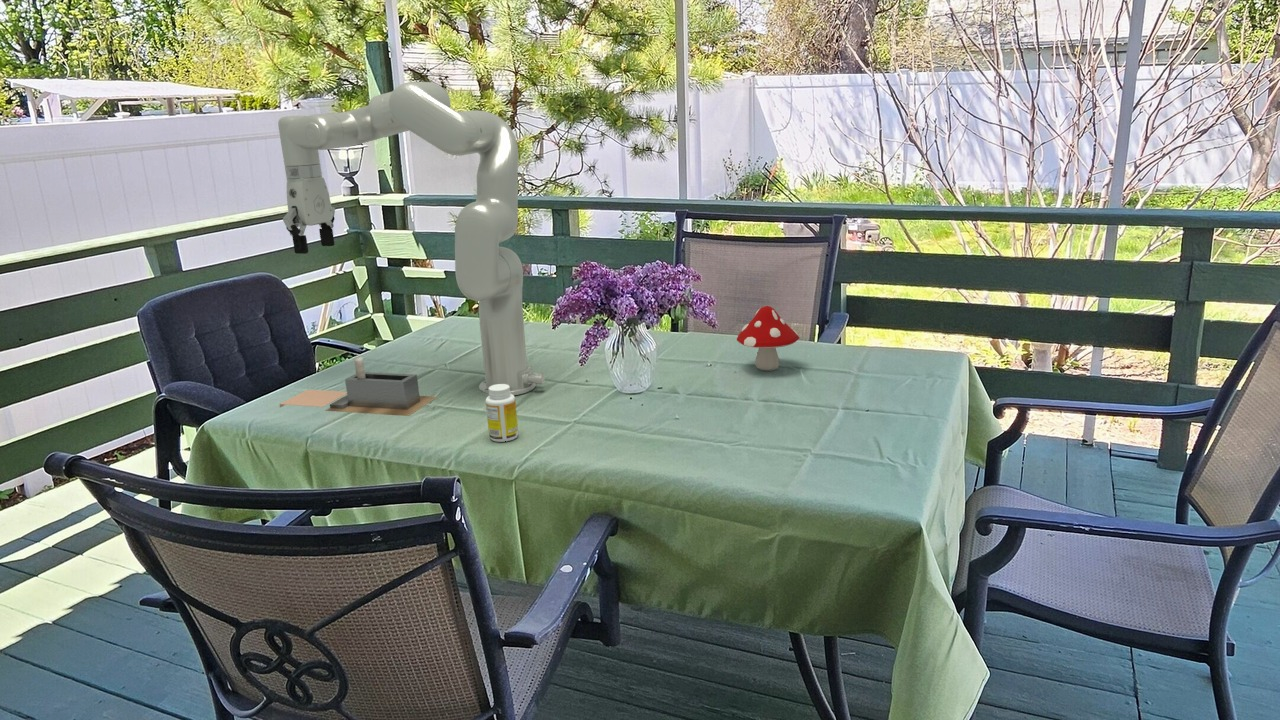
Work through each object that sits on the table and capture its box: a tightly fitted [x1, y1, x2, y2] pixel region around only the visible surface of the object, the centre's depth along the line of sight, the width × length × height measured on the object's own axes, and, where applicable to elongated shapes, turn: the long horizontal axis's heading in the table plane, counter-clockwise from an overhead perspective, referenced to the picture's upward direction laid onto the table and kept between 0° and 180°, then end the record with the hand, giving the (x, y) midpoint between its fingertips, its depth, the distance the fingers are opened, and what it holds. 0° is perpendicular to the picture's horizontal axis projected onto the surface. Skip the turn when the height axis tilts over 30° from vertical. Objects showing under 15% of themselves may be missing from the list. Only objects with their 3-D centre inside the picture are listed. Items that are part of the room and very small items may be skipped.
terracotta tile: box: [279, 389, 347, 408], centre depth 198 cm, size 11×10×1 cm
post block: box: [325, 356, 438, 417], centre depth 191 cm, size 20×12×11 cm, turn 73°
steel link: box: [344, 371, 421, 410], centre depth 191 cm, size 14×5×6 cm, turn 73°
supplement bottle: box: [485, 384, 519, 443], centre depth 170 cm, size 6×6×10 cm
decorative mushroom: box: [736, 305, 800, 372], centre depth 203 cm, size 14×14×15 cm
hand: (315, 249), depth 204 cm, fingers open, 9 cm apart
